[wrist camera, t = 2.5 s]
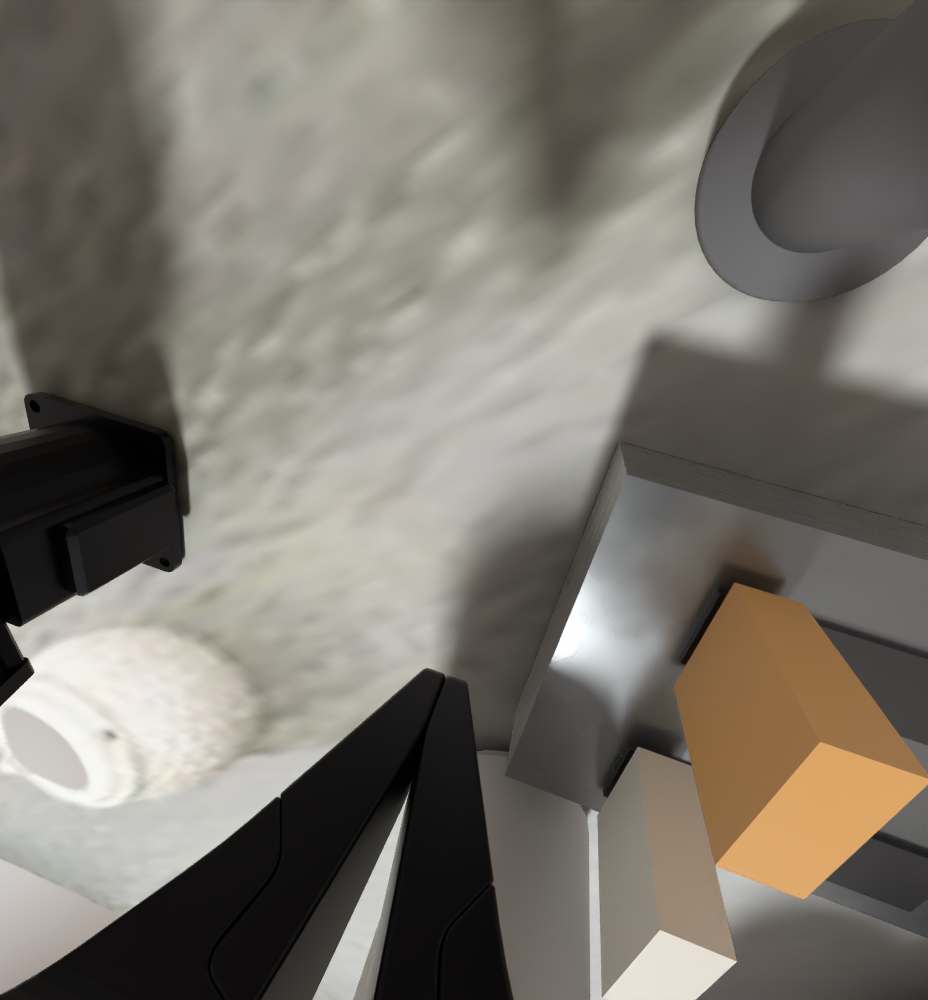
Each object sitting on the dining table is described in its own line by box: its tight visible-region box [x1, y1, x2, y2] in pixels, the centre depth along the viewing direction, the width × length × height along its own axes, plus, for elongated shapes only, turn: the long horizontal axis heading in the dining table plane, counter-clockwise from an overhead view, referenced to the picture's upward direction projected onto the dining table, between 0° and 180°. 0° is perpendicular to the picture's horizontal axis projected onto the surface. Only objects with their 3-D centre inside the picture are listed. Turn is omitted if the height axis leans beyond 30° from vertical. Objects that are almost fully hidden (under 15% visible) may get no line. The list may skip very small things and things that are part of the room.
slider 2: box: [674, 582, 928, 900], centre depth 10 cm, size 2×4×4 cm, turn 167°
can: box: [353, 750, 590, 1000], centre depth 16 cm, size 8×8×12 cm
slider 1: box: [598, 747, 737, 1000], centre depth 12 cm, size 2×4×4 cm, turn 167°
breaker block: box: [505, 442, 928, 938], centre depth 14 cm, size 16×12×4 cm
